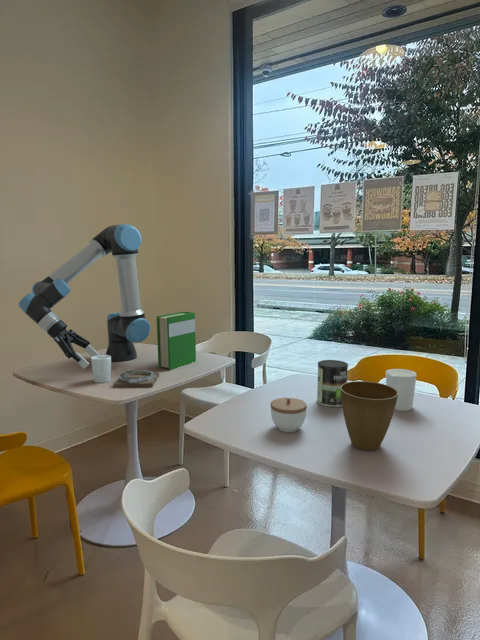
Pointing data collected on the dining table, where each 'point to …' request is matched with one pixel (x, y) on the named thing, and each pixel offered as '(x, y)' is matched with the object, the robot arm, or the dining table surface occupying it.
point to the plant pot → (367, 412)
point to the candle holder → (402, 387)
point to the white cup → (101, 368)
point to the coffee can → (331, 382)
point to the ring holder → (137, 379)
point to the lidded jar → (288, 413)
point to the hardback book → (176, 339)
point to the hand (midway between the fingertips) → (92, 361)
